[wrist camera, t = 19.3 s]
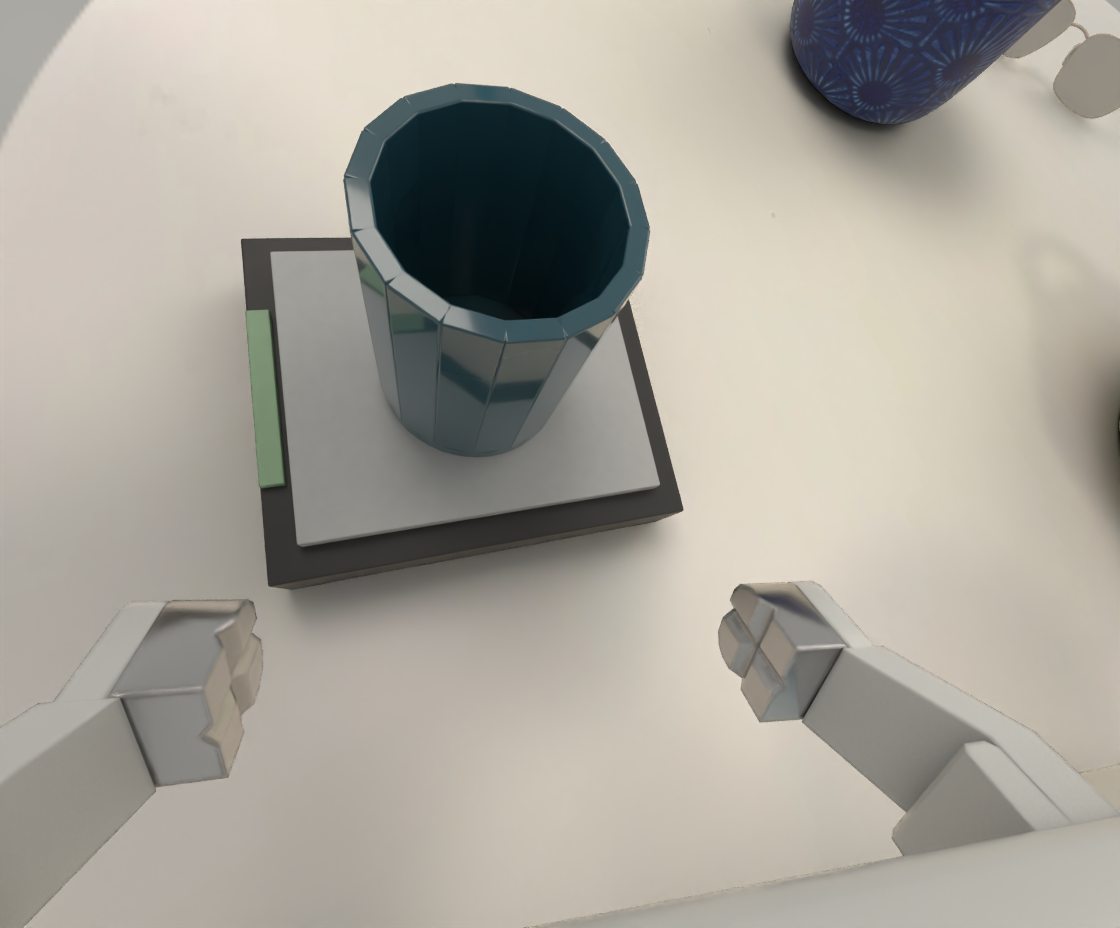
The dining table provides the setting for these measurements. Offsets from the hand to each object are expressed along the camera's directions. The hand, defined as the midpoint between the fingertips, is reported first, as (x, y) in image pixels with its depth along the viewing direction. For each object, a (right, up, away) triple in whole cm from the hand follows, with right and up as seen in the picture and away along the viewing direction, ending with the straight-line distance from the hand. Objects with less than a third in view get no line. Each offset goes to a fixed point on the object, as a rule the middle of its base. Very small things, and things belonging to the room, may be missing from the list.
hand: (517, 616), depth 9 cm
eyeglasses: (+38, +34, +31) cm, 60 cm away
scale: (-3, +5, +12) cm, 13 cm away
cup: (-2, +6, +9) cm, 11 cm away
